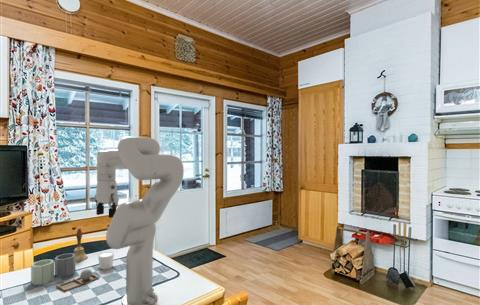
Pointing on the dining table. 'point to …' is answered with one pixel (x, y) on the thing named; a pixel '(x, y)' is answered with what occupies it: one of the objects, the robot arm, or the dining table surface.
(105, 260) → the white cylinder
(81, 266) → the dining table surface
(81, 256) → the hand bell
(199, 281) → the dining table surface
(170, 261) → the dining table surface
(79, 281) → the holder
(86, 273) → the grey ball
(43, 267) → the green ribbed pot
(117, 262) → the dining table surface
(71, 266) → the grey ribbed bin
